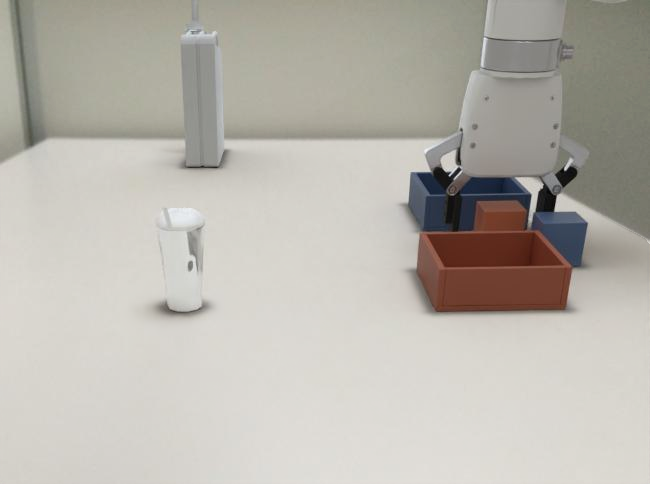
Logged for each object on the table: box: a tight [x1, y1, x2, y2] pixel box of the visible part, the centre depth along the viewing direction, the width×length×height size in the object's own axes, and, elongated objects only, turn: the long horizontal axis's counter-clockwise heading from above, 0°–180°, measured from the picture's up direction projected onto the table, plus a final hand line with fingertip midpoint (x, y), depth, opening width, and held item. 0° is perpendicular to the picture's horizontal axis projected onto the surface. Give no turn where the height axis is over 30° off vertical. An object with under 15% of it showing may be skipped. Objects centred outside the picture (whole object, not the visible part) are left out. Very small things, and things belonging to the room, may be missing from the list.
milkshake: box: [155, 207, 206, 313], centre depth 90 cm, size 4×5×10 cm
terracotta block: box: [473, 201, 527, 232], centre depth 106 cm, size 4×4×4 cm
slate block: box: [530, 210, 589, 267], centre depth 102 cm, size 4×4×4 cm
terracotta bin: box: [415, 230, 574, 312], centre depth 95 cm, size 12×12×4 cm
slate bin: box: [407, 170, 533, 232], centre depth 117 cm, size 12×12×4 cm
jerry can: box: [180, 0, 225, 168], centre depth 143 cm, size 15×5×25 cm, turn 177°
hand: (496, 229), depth 107 cm, fingers open, 9 cm apart
